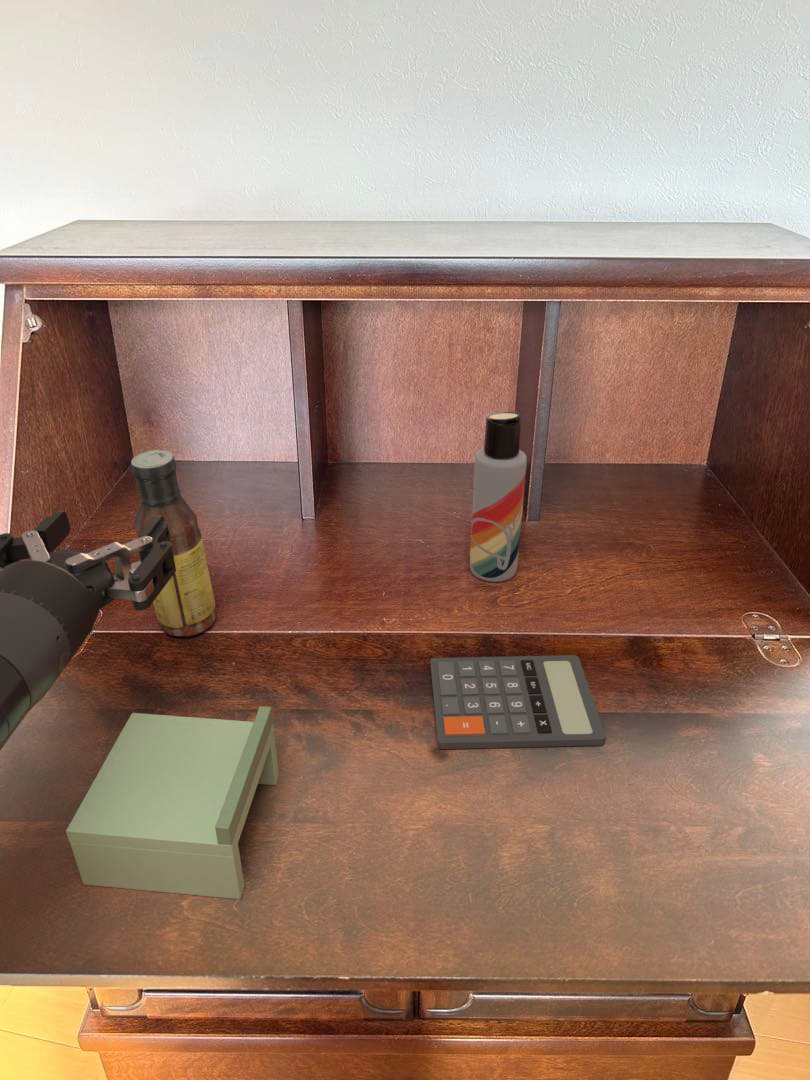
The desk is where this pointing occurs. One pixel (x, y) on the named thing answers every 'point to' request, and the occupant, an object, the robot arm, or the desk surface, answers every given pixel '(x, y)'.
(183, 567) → the sauce bottle
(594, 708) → the calculator
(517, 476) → the lotion bottle
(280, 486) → the desk surface
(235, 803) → the shelf
